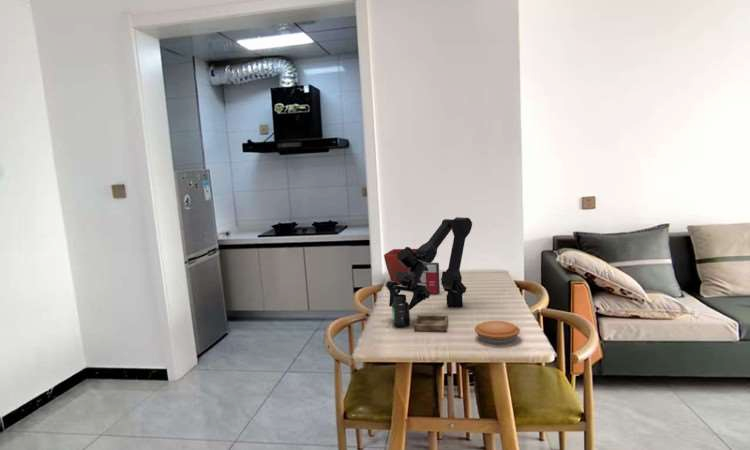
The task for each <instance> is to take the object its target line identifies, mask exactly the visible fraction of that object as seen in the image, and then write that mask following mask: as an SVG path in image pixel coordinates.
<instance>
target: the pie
mask: <svg viewBox="0 0 750 450" xmlns="http://www.w3.org/2000/svg"><path fill="white" fill-rule="evenodd" d="M520 331H521V329H520V327H518V326H517V325H515V324H514V323H511V322H508V321H504V320H488V321H484V322H481V323H479V324H477V325H476V326H475V327H474V332H475V334H477V336H479V339H480V340H481V341H482V342H484V343H486V344H491V345H498V346H499V345H508V344H510V343H513V342H514V341H515V339H516V337H517V336H518V335H519V334H520Z"/></svg>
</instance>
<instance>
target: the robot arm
mask: <svg viewBox="0 0 750 450" xmlns="http://www.w3.org/2000/svg"><path fill="white" fill-rule="evenodd" d="M472 227H473V222H472V220H471V218H470V217H460V216H457V217H455V218H453V219H451V218H445V219H443V220H442V221H441V224H440V225H439V226H438V228H437V229H436V230H435V232H434V233H433V234H432V235H431V237H430V238H429V240H428V241H427V242H425V243H423V244H421V245H420V246H419V247H418V248H416V249H417V251H415V252H413V251H412V250H411V249H412V248H411V247H409V246H405V247H404V248H402V249H403V250H401V251H400V252H399V253H398V254H397V259H398V260H399V261H400V262H401V263H402V264H403V265H404V266H405V267H406V268H409V270H408V272H396V277H395V280H399V281H400V282H399V283H400V284H397V282H395V281H391V280H388V281H386V283H385V287H386V289H387V290H388V291H389V307H391V308H392V304H393V302H395V301H394V295H397V294H401V291H402V292H408V293H412V298H411V300H410V301H409V307H408V309H409V311H411V310H412V309H413V308H414V307H416V306H417V305H418V304H420V303H421V302H423V301H425V300H427V299H430V297H431V294H430V291H429V290H428V289H427V287H426V286H425V285H418V283H421V280H420V278H421V276H422V273H423V271H428V268H427V265H424V264H423V263H422V262H426V263H433V262H434V260H435V259H436V256H437V255H438V254H437V253H438V249H439V247H440V246H441V244H442V243H443V242H444V240H445V239H446V238H447V236H448V235H449V234H450V232H451V231H452V234H453V241H452V246H451V251H450V257H449V260H448V267H447V269H446V270H445V271H442V272H441V279H440V281H441V286H442V288H443V290H444V292H447V294H446V297H445V298H446V306H447V308H463V307H464V302H463V301H464V299H463V294H465V293H466V292H467V287H466V286H465V285H464V283H463V281H462V280H463V278H462V277H463V276H462V275H461V271H460V269H461V264H462V259H463V253H464V247H465V241H466V239H467V237H468V236H469V235H470V233H471V231H472Z"/></svg>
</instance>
